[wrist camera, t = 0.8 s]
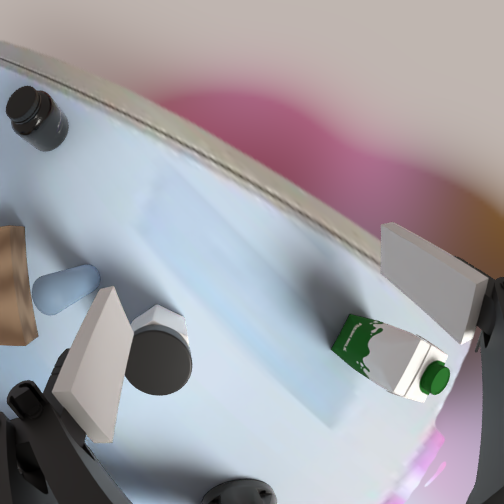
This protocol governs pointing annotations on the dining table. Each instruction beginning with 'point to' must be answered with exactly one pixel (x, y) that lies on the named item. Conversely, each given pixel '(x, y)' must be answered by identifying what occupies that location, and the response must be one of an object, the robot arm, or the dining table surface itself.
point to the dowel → (64, 288)
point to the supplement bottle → (37, 118)
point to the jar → (159, 352)
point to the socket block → (15, 290)
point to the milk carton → (392, 358)
